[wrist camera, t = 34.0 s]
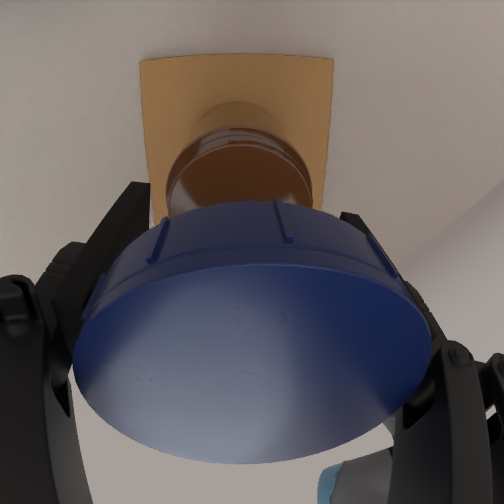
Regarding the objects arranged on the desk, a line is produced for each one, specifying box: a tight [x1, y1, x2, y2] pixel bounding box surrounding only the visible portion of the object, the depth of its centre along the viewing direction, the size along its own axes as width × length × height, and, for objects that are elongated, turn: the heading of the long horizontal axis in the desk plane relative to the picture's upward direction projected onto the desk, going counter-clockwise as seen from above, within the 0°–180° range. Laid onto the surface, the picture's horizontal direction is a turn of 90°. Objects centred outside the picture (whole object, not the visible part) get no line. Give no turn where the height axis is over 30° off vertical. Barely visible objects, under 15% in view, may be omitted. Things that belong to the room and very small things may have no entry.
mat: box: [140, 54, 334, 225], centre depth 23 cm, size 14×14×1 cm
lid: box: [73, 198, 432, 464], centre depth 7 cm, size 8×8×2 cm
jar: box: [165, 102, 314, 219], centre depth 18 cm, size 7×7×12 cm
